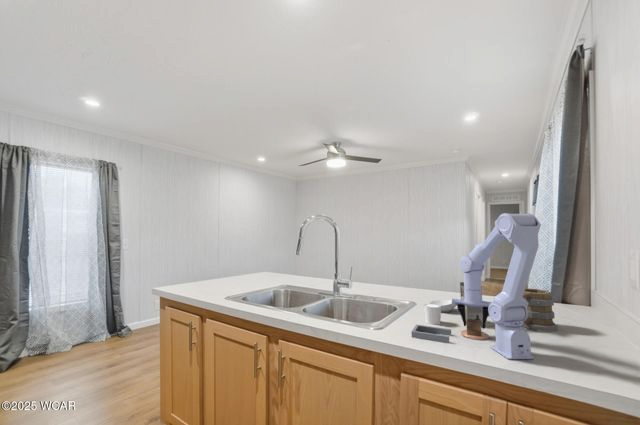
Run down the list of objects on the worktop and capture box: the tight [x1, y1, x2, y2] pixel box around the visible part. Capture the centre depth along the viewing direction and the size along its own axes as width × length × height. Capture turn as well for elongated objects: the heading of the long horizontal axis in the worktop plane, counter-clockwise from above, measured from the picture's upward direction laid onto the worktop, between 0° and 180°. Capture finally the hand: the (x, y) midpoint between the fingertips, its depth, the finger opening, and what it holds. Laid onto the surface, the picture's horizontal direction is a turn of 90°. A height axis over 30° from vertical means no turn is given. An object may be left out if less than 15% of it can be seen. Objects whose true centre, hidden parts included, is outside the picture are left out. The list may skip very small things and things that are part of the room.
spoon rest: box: [428, 297, 483, 313], centre depth 140 cm, size 24×12×7 cm, turn 64°
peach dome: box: [460, 329, 490, 341], centre depth 107 cm, size 9×9×1 cm
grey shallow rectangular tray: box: [411, 324, 452, 344], centre depth 107 cm, size 12×9×2 cm
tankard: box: [522, 287, 559, 332], centre depth 117 cm, size 20×13×15 cm, turn 110°
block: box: [466, 319, 483, 336], centre depth 108 cm, size 4×4×4 cm
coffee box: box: [459, 281, 483, 327], centre depth 123 cm, size 9×6×16 cm
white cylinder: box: [423, 303, 442, 325], centre depth 124 cm, size 7×7×7 cm
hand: (474, 326), depth 108 cm, fingers open, 5 cm apart
